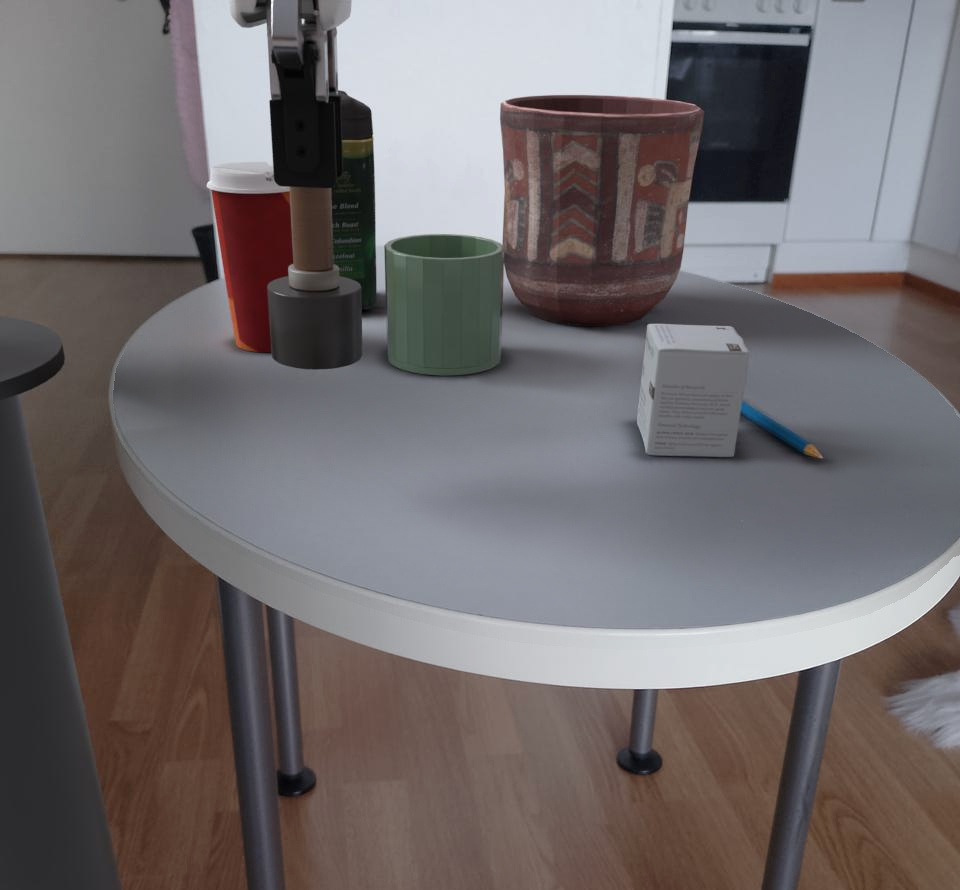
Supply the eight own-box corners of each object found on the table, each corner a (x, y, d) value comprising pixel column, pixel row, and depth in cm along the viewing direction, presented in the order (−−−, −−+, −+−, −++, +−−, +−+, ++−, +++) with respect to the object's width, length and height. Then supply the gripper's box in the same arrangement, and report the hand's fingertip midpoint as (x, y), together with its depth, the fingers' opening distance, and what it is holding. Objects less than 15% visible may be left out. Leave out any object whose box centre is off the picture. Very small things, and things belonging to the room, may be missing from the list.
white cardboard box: (635, 425, 78) (645, 321, 74) (719, 426, 78) (734, 323, 74) (645, 457, 73) (657, 347, 69) (736, 458, 73) (752, 349, 69)
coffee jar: (383, 315, 102) (378, 94, 92) (298, 318, 100) (283, 94, 91) (371, 290, 110) (364, 84, 100) (292, 292, 108) (278, 84, 99)
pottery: (509, 338, 96) (517, 113, 87) (483, 289, 111) (487, 93, 101) (703, 335, 98) (731, 115, 89) (652, 288, 113) (672, 95, 104)
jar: (415, 381, 85) (414, 263, 81) (370, 349, 92) (366, 239, 88) (520, 367, 89) (525, 253, 84) (469, 337, 96) (470, 230, 92)
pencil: (702, 383, 86) (703, 374, 85) (827, 462, 72) (829, 453, 72) (693, 384, 86) (694, 375, 85) (817, 464, 72) (819, 454, 72)
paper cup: (331, 344, 93) (322, 169, 86) (255, 361, 89) (238, 178, 82) (279, 325, 98) (267, 157, 91) (205, 340, 94) (185, 165, 86)
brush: (288, 374, 60) (271, 68, 52) (260, 347, 64) (239, 59, 56) (376, 364, 62) (372, 68, 54) (343, 338, 66) (335, 59, 58)
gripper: (239, -239, 55) (264, 155, 65) (160, -304, 41) (207, 207, 51) (388, -232, 55) (390, 160, 65) (358, -295, 41) (367, 214, 51)
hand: (309, 178), depth 58 cm, fingers closed on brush
